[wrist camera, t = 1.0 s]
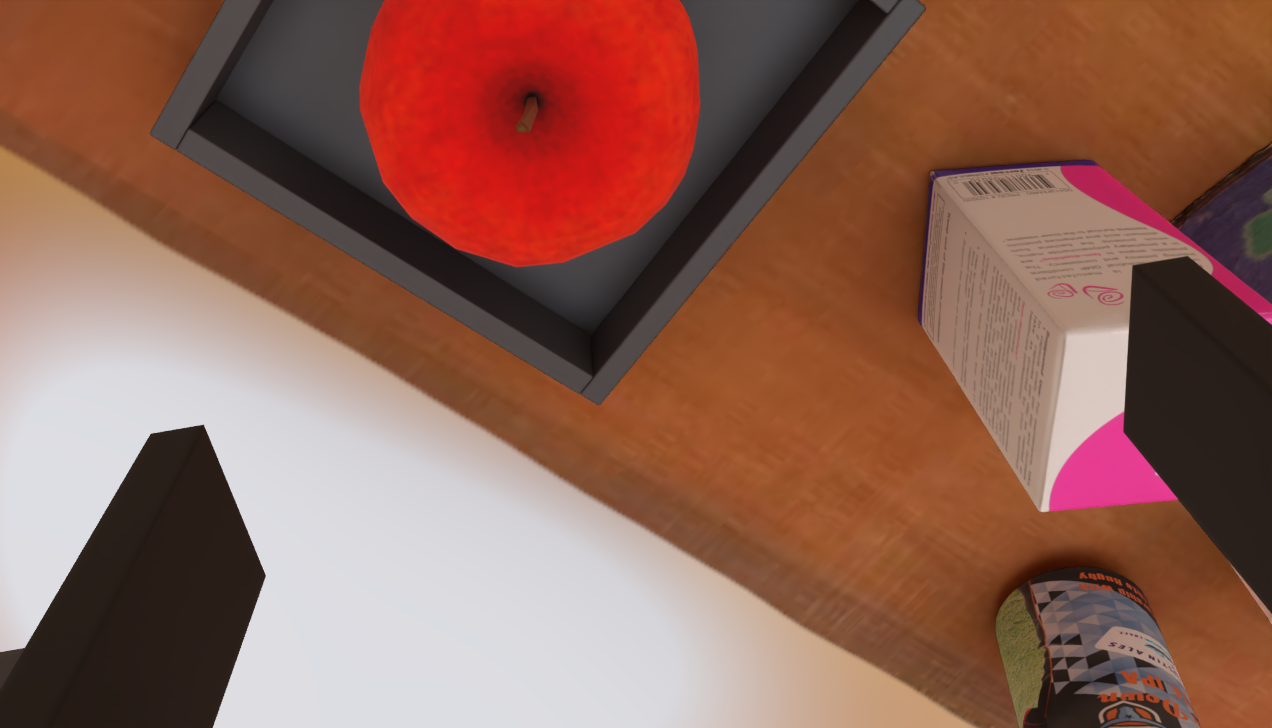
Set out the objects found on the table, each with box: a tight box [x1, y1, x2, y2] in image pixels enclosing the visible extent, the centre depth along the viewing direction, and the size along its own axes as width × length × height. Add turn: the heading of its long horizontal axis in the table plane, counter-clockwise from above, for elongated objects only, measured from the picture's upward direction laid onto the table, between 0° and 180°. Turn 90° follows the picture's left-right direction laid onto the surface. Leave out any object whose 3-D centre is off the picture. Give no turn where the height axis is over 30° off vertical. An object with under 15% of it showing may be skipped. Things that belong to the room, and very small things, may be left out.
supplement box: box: [918, 160, 1272, 512], centre depth 34 cm, size 6×6×12 cm
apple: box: [359, 0, 700, 267], centre depth 31 cm, size 9×9×8 cm
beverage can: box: [995, 567, 1201, 728], centre depth 42 cm, size 6×7×12 cm
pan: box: [150, 0, 926, 405], centre depth 33 cm, size 16×16×4 cm
